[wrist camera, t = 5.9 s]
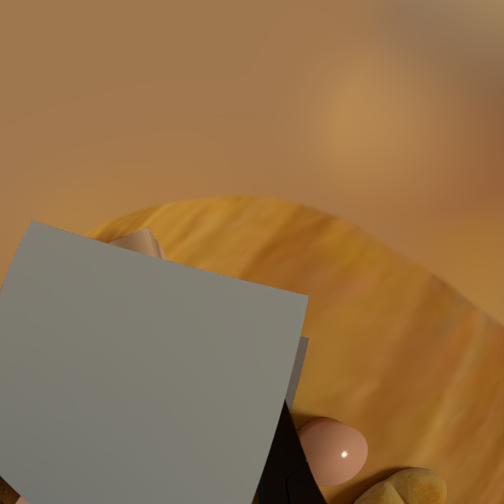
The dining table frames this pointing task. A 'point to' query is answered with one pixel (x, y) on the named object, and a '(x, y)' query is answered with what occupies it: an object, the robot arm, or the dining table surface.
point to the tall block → (137, 375)
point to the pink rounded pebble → (332, 450)
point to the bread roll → (407, 489)
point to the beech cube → (141, 243)
